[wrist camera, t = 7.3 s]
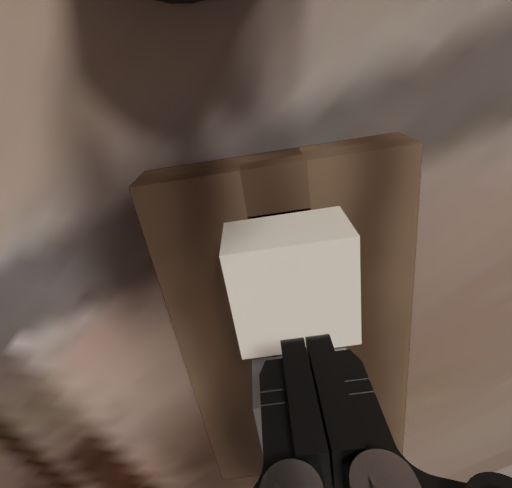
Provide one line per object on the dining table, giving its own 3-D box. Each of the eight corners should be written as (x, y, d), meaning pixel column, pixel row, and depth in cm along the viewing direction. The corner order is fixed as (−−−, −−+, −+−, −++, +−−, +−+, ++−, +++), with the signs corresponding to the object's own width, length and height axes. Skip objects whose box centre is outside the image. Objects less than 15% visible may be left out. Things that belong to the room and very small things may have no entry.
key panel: (398, 132, 19) (422, 142, 16) (388, 423, 30) (402, 459, 27) (144, 171, 20) (128, 187, 17) (224, 443, 30) (222, 479, 28)
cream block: (326, 186, 17) (360, 236, 12) (331, 272, 20) (361, 344, 15) (226, 201, 18) (219, 256, 13) (243, 284, 20) (242, 359, 15)
